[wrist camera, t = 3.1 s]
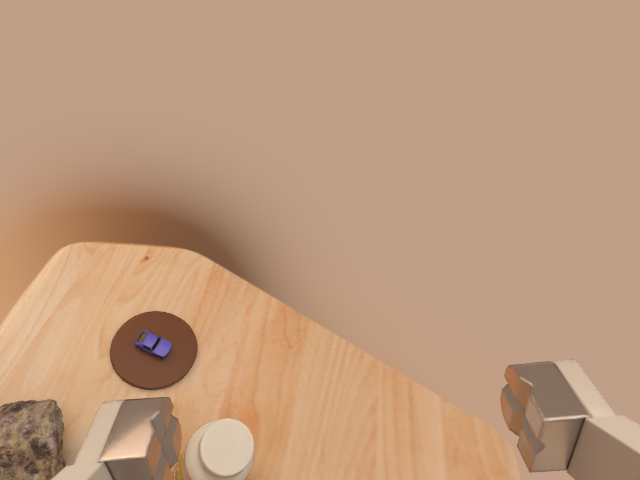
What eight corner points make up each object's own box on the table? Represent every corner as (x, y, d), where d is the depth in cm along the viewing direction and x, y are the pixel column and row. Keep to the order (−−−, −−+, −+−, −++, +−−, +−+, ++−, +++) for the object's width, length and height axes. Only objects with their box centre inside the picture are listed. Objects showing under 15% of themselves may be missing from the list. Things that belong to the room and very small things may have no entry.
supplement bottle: (163, 491, 38) (175, 467, 31) (193, 430, 42) (210, 396, 35) (221, 516, 39) (246, 499, 32) (246, 454, 42) (273, 425, 35)
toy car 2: (171, 403, 43) (172, 397, 42) (92, 367, 42) (92, 360, 41) (209, 333, 48) (212, 327, 47) (140, 300, 48) (141, 293, 46)
